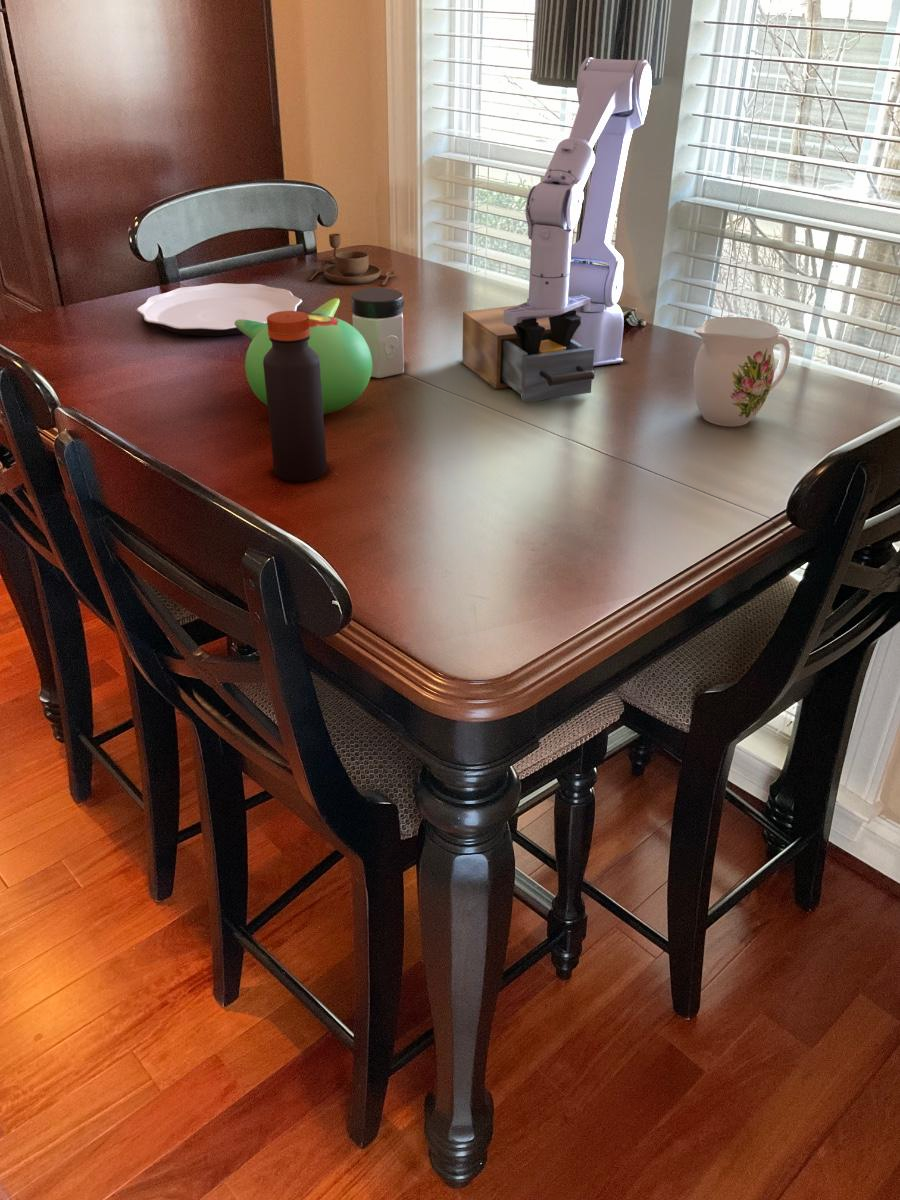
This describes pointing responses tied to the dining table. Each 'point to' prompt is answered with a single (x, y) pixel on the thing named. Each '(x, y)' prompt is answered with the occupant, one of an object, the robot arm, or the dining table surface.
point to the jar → (381, 328)
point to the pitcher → (736, 368)
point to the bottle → (294, 399)
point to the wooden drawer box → (488, 342)
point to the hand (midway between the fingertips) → (544, 364)
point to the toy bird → (337, 350)
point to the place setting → (350, 266)
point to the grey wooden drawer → (546, 370)
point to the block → (550, 347)
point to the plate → (215, 307)
